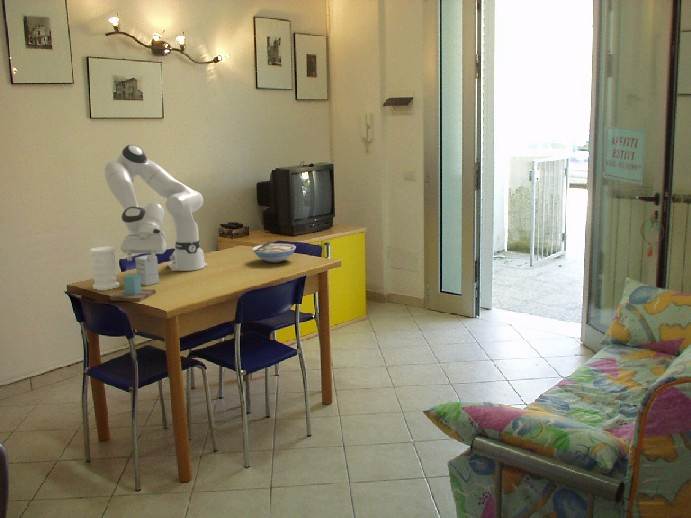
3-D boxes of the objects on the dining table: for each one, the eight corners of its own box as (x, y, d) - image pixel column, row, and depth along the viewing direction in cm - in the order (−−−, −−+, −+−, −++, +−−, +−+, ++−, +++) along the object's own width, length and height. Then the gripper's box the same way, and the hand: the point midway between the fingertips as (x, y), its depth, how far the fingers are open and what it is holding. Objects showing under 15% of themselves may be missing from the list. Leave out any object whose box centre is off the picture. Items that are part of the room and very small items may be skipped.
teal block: (131, 291, 305) (129, 273, 303) (141, 291, 304) (140, 274, 302) (125, 294, 300) (123, 276, 298) (135, 294, 299) (133, 276, 297)
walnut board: (126, 291, 310) (126, 288, 310) (155, 293, 307) (155, 289, 307) (109, 300, 297) (109, 296, 296) (139, 301, 294) (139, 298, 293)
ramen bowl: (287, 267, 351) (286, 251, 349) (245, 265, 357) (244, 250, 355) (303, 257, 375) (302, 242, 373) (263, 255, 380) (262, 241, 379)
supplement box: (150, 280, 330) (148, 254, 328) (159, 282, 326) (157, 256, 323) (136, 283, 325) (134, 257, 322) (146, 285, 320) (143, 259, 317)
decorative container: (121, 283, 326) (117, 245, 322) (117, 289, 315) (113, 250, 311) (95, 284, 325) (91, 246, 321) (90, 290, 313) (86, 251, 310)
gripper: (123, 230, 311) (114, 256, 304) (165, 230, 307) (157, 257, 299) (129, 238, 316) (120, 264, 309) (170, 238, 312) (162, 264, 305)
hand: (138, 260), depth 304 cm, fingers open, 8 cm apart
